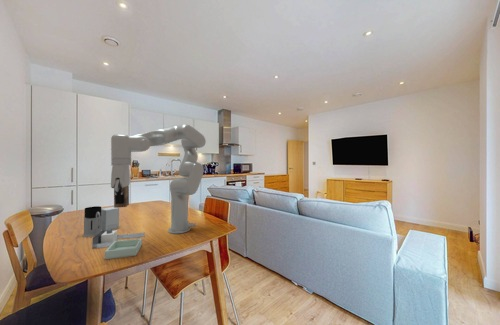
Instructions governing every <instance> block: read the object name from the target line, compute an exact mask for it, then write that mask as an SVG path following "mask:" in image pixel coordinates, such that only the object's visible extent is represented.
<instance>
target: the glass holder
mask: <svg viewBox="0 0 500 325" xmlns="http://www.w3.org/2000/svg"><path fill="white" fill-rule="evenodd" d="M101 209H102V206H96V205H95V206H87V207H85V208H84V216H83V235H82V237H83V238H93V237H95V236H96V235H97V234H99V233H100V232H101V231H102V230H101V229H102V214H101Z"/></svg>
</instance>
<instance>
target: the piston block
mask: <svg viewBox="0 0 500 325" xmlns="http://www.w3.org/2000/svg"><path fill="white" fill-rule="evenodd" d="M117 235H118V229H115V230H112V229H107V231H106V232H105V233H103V234H102V235H101V243H105V242H114V241H118V239H117Z"/></svg>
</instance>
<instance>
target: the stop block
mask: <svg viewBox="0 0 500 325" xmlns="http://www.w3.org/2000/svg"><path fill="white" fill-rule="evenodd" d="M119 188H121V187H119ZM129 188H130V185H129V186H126V187H124V188H123V194H124V203H123V204H115V190H114V189H113V207H114V208H119V209H120V208H127V207H128V206H129V205H130V189H129ZM120 190H121V189H120Z"/></svg>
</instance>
